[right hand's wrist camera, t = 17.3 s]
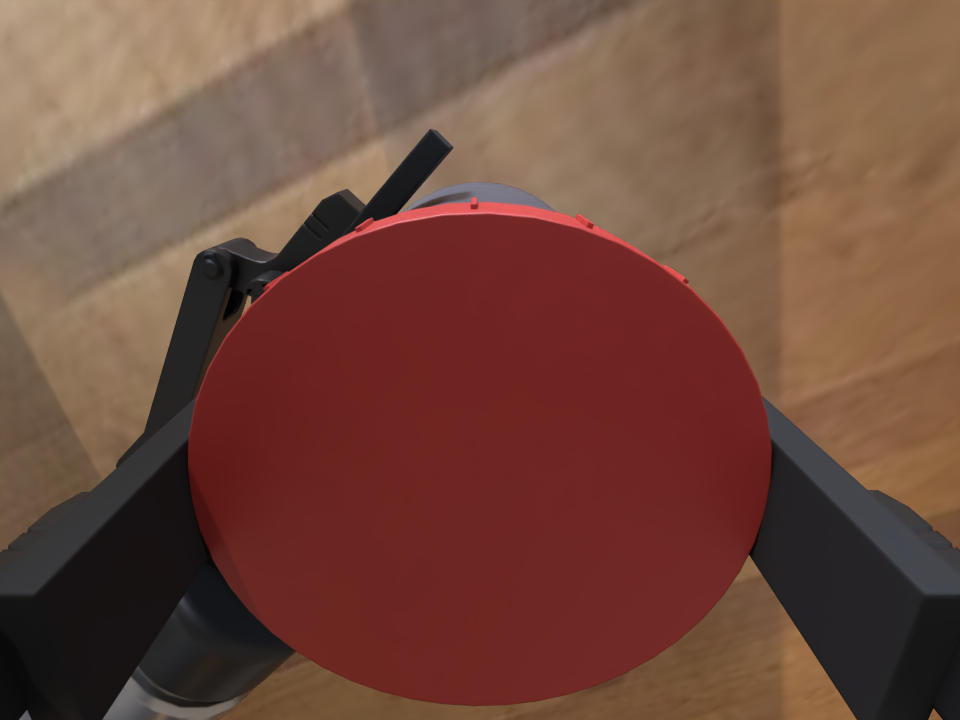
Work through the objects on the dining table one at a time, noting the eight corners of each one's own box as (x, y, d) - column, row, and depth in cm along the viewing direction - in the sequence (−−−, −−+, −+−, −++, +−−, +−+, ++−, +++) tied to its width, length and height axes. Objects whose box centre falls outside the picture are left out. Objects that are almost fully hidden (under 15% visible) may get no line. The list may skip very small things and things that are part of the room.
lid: (664, 99, 10) (699, 90, 8) (775, 577, 14) (814, 633, 12) (117, 320, 11) (57, 349, 10) (362, 692, 15) (349, 755, 13)
